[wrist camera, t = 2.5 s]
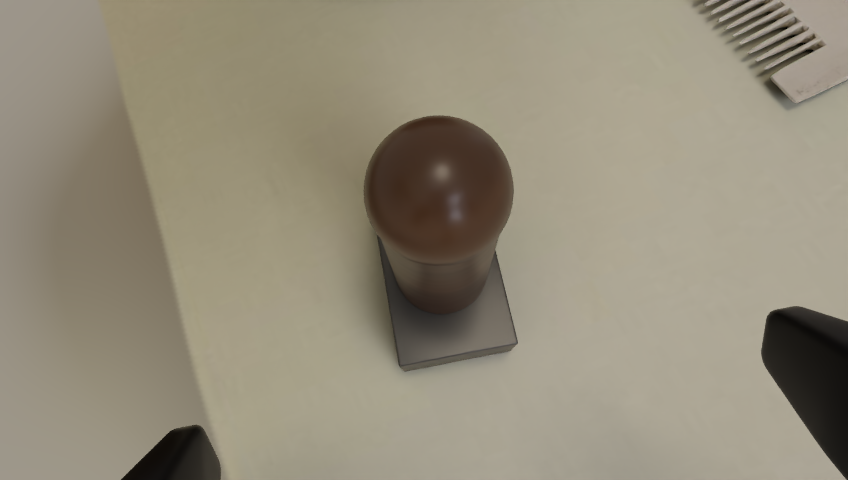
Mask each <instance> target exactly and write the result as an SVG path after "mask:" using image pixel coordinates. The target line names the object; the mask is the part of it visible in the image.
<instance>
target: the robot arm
mask: <svg viewBox="0 0 848 480" xmlns="http://www.w3.org/2000/svg"><path fill="white" fill-rule="evenodd" d="M761 354H762V360H763V363H764V365H765V367H766V369H767V370H768V372H769V373H770V374H771V376H772V377H773V379H774V380H775V382H776V383H777V385H778V386H779V388H780V389H781V390H782V392H783V393H784V395H785V396H786V398H787V399H788V401H789V402H790V404H791V405H792V407H793V408H794V409H795V411H796V412H797V414H798V415H799V417H800V418H801V420H802V421H803V423H804V424H805V426H806V427H807V428H808V430H809V431H810V433H811V434H812V436H813V437H814V439H815V440H816V441H817V443H818V444H819V445H820V447H821V448H822V450H823V451H824V452H825V454H826V455H827V456H828V457H829V459H830V460H831V461H832V462H833V464H834V465H835V466H836V467H837V469H838V470H839V471H840V472H841V473H842V475H843V476H844V477H845V478H846V480H848V322H847V321H844V320H841V319H838V318H835V317H832V316H828V315H825V314H822V313H819V312H816V311H813V310H810V309H806V308H803V307H799V306H793V307H787V308H782V309H777V310H773V311H772V312H770V313H769V315H768V316H767V319H766V324H765V331H764V337H763V343H762V349H761ZM220 479H221V467H220V463H219V460H218V457H217V455H216V453H215V451H214V449H213V447H212V445H211V443H210V441H209V439H208V436H207V435H206V432H205V431H204V429H203V428H202V427H201V426H199V425H192V426H187V427H181V428H177V429H174V430H172V431H170V432H169V433H168V434H167V435H166V436H165V437H164V438H163V439H162V440H161V441H160V442H159V443H158V444H157V445H156V446H155V447H154V448H153V449H152V450H151V451H150V452H149V453H148V454H146V455H145V457H144V458H142V459H141V460H140V461H139V462H138V463H137V464H136V465H135V466H134V467H133V468H132V469H131V470H130V471H129V472H128V473H127V474H126V475H125V476H124V477H123V478H122V479H121V480H220Z"/></svg>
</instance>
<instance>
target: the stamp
mask: <svg viewBox="0 0 848 480" xmlns="http://www.w3.org/2000/svg"><path fill="white" fill-rule="evenodd" d="M513 194H514V187H513V179H512V174H511V169H510V166H509V163H508V161H507V159H506V157H505V155H504V153H503V151H502V150H501V148H500V147H499V145H498V144H497V143H496V142H495V141H494V139H493V138H492V137H491V136H490V135H488V134H487V133H486V132H485V131H483V130H482V129H481V128H479V127H478V126H476V125H474V124H472V123H470V122H468V121H465V120H463V119H460V118H455V117H451V116H427V117H422V118H418V119H415V120H412V121H410V122H407V123H405V124H403V125H402V126H400V127H398V128H397V129H395V130H394V131H393V132H392V133H391V134H389V135H388V136H387V137H386V138H385V139H384V140H383V141H382V142H381V143H380V145H379V146H378V147H377V149H376V150H375V152H374V154H373V156H372V158H371V160H370V162H369V164H368V167H367V170H366V175H365V180H364V202H365V207H366V211H367V215H368V218H369V220H370V223H371V225H372V226H373V228H374V230H375V232H376V233H377V237H378V243H379V249H380V255H381V261H382V267H383V273H384V278H385V284H386V290H387V296H388V302H389V308H390V314H391V320H392V326H393V332H394V338H395V344H396V350H397V356H398V362H399V366H400V367H401V368H402V369H403V370H404V371H410V370H415V369H420V368H425V367H430V366H435V365H441V364H446V363H451V362H456V361H461V360H466V359H471V358H476V357H481V356H486V355H492V354H497V353H502V352H507V351H511V350H512V349H513V348H514V347H515V346H516V344H517V343H518V341H517V337H516V333H515V329H514V325H513V321H512V316H511V312H510V308H509V304H508V300H507V296H506V292H505V288H504V284H503V279H502V275H501V271H500V267H499V263H498V259H497V255H496V251H495V248H496V245H497V241H498V238H499V235H500V233H501V232H502V230H503V228H504V226H505V225H506V223H507V220H508V218H509V215H510V212H511V208H512V204H513Z"/></svg>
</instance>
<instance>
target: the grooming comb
mask: <svg viewBox="0 0 848 480" xmlns="http://www.w3.org/2000/svg"><path fill="white" fill-rule="evenodd" d="M718 1H721V0H710V1H708V2H706V3H705V4H704V5H703V6H705V7H706V6H709V5H711V4H713V3H716V2H718ZM743 1H745V0H730V1H728V2H726V3H725V4H723V5H721V6H719V7H718V8H716V9H714V10H713V11H712V12H711V13H710V15H712V14H715V13H717V12H719V11H722V10H724V9H727V8H729V7H731V6H732V5H735V4H738V3H741V2H743ZM762 3H765V5H763V6H761V7H760V8H758V9H756V10H754V11H752V12H751V13H749V14H747V15H745V16H743V17H742V18H740V19H738V20H737V21H735V22H733V23H732V24H730V25H728V26H727V27H726V28H725V29H724V30H727V29H730V28H732V27H734V26H737V25H739V24H741V23H743V22H746V21H748V20H750V19H752V18H754V17H757V16H760V15H762V14H764V13H766V12H772V13H771V14H769V15H767V16H765V17H763V18H761V19H760V20H758V21H756V22H754V23H752V24H750V25H749V26H747V27H745V28H743V29H742V30H740V31H738V32H737V33H735V34H733V35H732V37H734V36H737V35H739V34H742V33H744V32H746V31H748V30H750V29H752V28H754V27H755V26H758V25H761V24H764V23H766V22H769V21H772V20H775V19H779V20H777V21H775V22H774V23H772V24H771V25H769V26H767V27H766V28H764V29H762V30H760V31H758V32H756V33H754V34H753V35H751V36H749V37H747V38H745V39H744V40H743V41H741V42H740V43H739V44H740V45H741V44H744V43H746V42H748V41H751V40H753V39H756V38H758V37H760V36H762V35H765V34H767V33H769V32H771V31H774V30H776V29H778V28H781V27H789V28H787V29H785V30H784V31H782V32H780V33H778V34H777V35H775V36H773V37H771V38H769V39H768V40H766V41H764V42H763V43H761V44H759V45H758V46H756V47H754V48H753V49H751V50H749V51H748V52H747V53H748V54H750V53H753V52H756V51H758V50H760V49H762V48H764V47H766V46H768V45H771V44H773V43H775V42H777V41H779V40H781V39H784V38H786V37H788V36H790V35H796V34H799V35H797V36H795V37H793V38H791V39H789V40H788V41H786V42H784V43H782V44H780V45H779V46H777V47H775V48H773V49H771V50H770V51H768V52H766V53H765V54H763V55H761V56H760V57H758V58H756V59H755V61H756V62H757V61H760V60H762V59H764V58H767V57H769V56H771V55H774V54H776V53H778V52H781V51H783V50H786V49H788V48H790V47H793V46H795V45H797V44H799V43H801V42H802V43H806V44H804V45H802V46H800V47H799V48H797V49H795V50H793V51H791V52H789V53H787V54H785V55H784V56H782V57H780V58H779V59H777V60H775V61H774V62H772V63H770V64H769V65H767V66H765V69H769V68H771V67H773V66H774V65H776V64H778V63H780V62H782V61H784V60H786V59H788V58H791V57H793V56H795V55H797V54H799V53H802V52H804V51H806V50H808V49H812V50H813V51H814V52H812V53H810V54H808V55H806V56H804V57H802V58H801V59H799V60H797V61H795V62H793V63H791V64H789V65H788V66H786V67H784V68H782V69H781V70H779V71H777V72H776V73H774V74H772V75H771V78H770V79H771V80H772V81H773V82H774V83H775V84H776V85H777V86H778V87H779V88H780V89H781V90H782V91H783V92H784V93H785V94H786V95H787V97H788V98H789V99H790V100H791V101H792V102H794V103H798V102H800V101H803V100H805V99H807V98H810V97H812V96H814V95H816V94H818V93H820V92H823V91H825V90H827V89H829V88H831V87H833V86H835V85H837V84H839V83H842V82H844V81H846V80H848V0H751V1H749V2H747V3H745V4H743V5H742V6H740V7H738V8H736V9H735V10H733V11H731V12H729V13H728V14H726V15H724V16H723V17H721V18H719V20H718V21H717V22H721V21H723V20H726V19H728V18H730V17H732V16H735V15H737V14H739V13H742V12H744V11H746V10H748V9H751V8H753V7H755V6H757V5H760V4H762Z"/></svg>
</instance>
